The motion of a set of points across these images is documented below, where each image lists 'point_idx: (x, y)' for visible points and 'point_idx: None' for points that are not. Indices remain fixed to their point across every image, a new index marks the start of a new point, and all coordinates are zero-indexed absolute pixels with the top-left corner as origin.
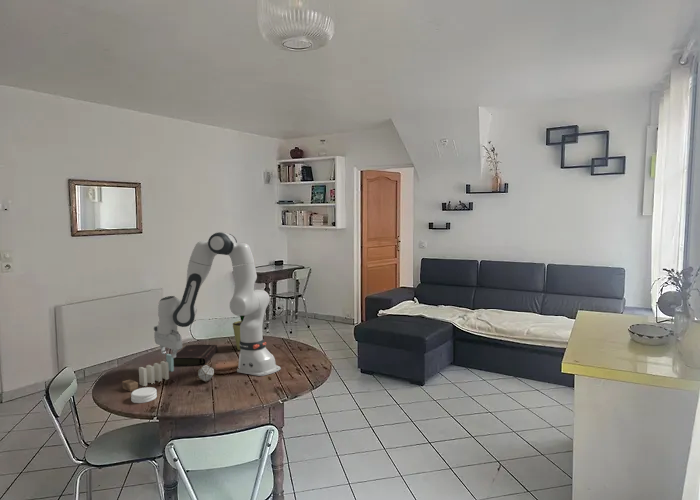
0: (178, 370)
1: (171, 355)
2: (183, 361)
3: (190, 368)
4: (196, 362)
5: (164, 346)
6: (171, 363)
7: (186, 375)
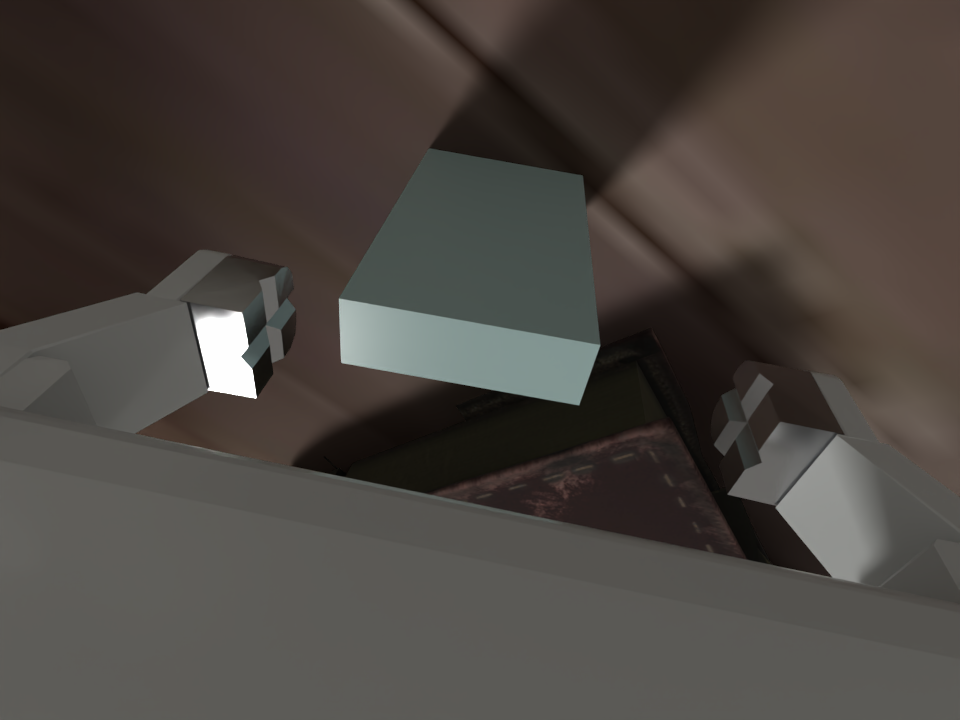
0: (375, 235)
1: (259, 287)
2: (502, 443)
3: (314, 353)
4: (368, 478)
5: (575, 532)
6: (396, 215)
7: (40, 116)
